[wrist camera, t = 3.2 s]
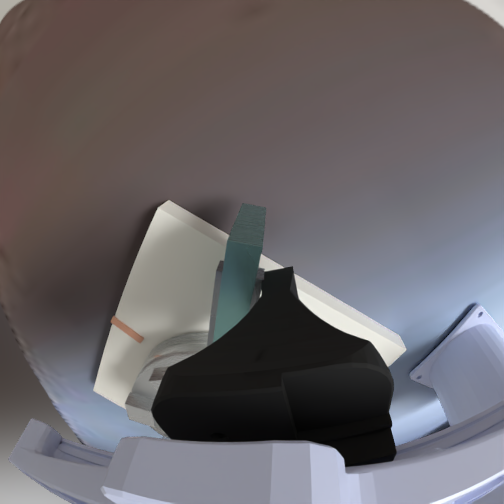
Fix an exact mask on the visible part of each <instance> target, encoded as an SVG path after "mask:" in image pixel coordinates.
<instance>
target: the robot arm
mask: <svg viewBox="0 0 504 504" xmlns="http://www.w3.org/2000/svg"><path fill="white" fill-rule="evenodd" d="M261 290H262V295H261V297H260V298H259V299H258V301H257V302H256V303H255V305H254V306H253V307H252V309H251V310H250V311H249V312H248V313H247V314H246V315H245V316H244V317H243V318H242V319H241V320H240V321H239V322H238V323H237V324H236V325H235V326H234V327H233V328H232V329H230V330H229V331H228V332H227V333H225V334H224V335H223V336H222V337H221V338H219V339H218V340H216V341H215V342H213V343H212V344H211V345H209V346H207V347H206V348H204V349H203V350H201V351H199V352H198V353H196V354H194V355H192V356H190V357H188V358H186V359H184V360H182V361H180V362H178V363H176V364H174V365H172V366H169V367H168V368H167V370H166V372H165V374H164V376H163V378H162V381H161V383H160V386H159V388H158V391H157V394H156V396H155V399H154V402H153V404H152V407H151V412H152V416H153V418H154V419H155V421H156V422H157V424H158V425H159V427H160V428H161V429H162V430H163V431H164V432H165V433H166V434H167V436H168V437H169V438H170V439H171V440H170V439H160V438H152V437H125V438H122V439H121V440H120V442H119V443H118V445H117V447H116V450H115V452H114V453H111V452H107V451H103V450H100V449H96V448H93V447H89V446H86V445H83V444H80V443H76V442H73V441H70V440H68V439H65V438H62V436H61V435H60V434H59V433H58V432H57V431H56V430H55V429H54V428H52V427H51V426H50V425H48V424H46V423H44V422H41V421H38V420H36V419H31V420H30V422H29V423H28V425H27V427H26V429H25V430H24V432H23V433H22V435H21V437H20V439H19V440H18V442H17V444H16V446H15V447H14V449H13V451H12V453H11V455H10V457H9V459H8V460H9V462H11V463H12V464H13V465H14V466H15V467H17V468H18V469H19V470H21V471H22V472H23V473H25V474H26V475H27V476H29V477H30V478H31V479H33V480H34V481H35V482H37V483H38V484H40V485H41V486H43V487H44V488H46V489H47V490H49V491H50V492H52V493H54V494H55V495H57V496H59V497H61V498H63V499H64V500H66V501H68V502H70V503H72V504H504V331H503V330H502V329H501V328H500V327H499V325H498V324H497V323H496V322H495V321H494V320H493V318H492V317H491V316H490V315H489V314H488V313H487V311H486V310H485V309H484V308H483V307H482V306H481V305H480V304H476V305H475V306H474V307H473V308H472V309H471V310H470V312H469V313H468V314H467V315H466V316H465V317H464V319H463V320H462V321H461V322H460V323H459V324H458V325H457V327H456V328H455V329H454V330H453V331H452V332H451V333H450V334H449V335H448V336H447V337H446V338H445V339H444V341H443V342H442V343H441V344H440V345H439V346H438V347H437V348H436V349H435V350H434V351H433V352H432V353H431V354H430V355H429V356H428V357H427V358H425V359H424V360H423V361H422V362H421V363H420V364H419V365H418V366H417V367H416V368H415V369H414V370H412V371H411V373H410V374H409V376H410V379H411V380H414V381H416V382H418V383H421V384H423V385H425V386H428V387H430V388H432V389H434V390H435V392H436V394H437V396H438V399H439V401H440V403H441V405H442V408H443V410H444V412H445V415H446V417H447V420H448V422H449V425H450V427H449V428H446V429H444V430H441V431H439V432H436V433H434V434H431V435H429V436H426V437H423V438H420V439H417V440H414V441H411V442H408V443H405V444H402V445H399V446H396V447H395V443H394V439H393V435H392V431H391V427H392V421H391V417H390V414H389V409H390V405H391V400H392V395H393V390H394V382H393V378H392V375H391V373H390V371H389V368H388V367H387V365H386V363H385V361H384V360H383V358H382V357H381V355H380V353H379V352H378V351H377V349H376V348H375V346H374V345H373V344H372V343H371V342H370V341H368V340H365V339H362V338H359V337H357V336H354V335H351V334H348V333H346V332H343V331H341V330H339V329H337V328H335V327H333V326H332V325H330V324H328V323H327V322H325V321H324V320H322V319H321V318H319V317H318V316H317V315H315V314H314V313H313V312H312V311H311V310H310V309H308V308H307V307H306V306H305V305H304V304H303V303H302V302H301V301H300V299H299V297H298V292H297V286H296V281H295V276H294V271H293V266H292V267H286V268H281V269H276V270H270V271H265V272H264V281H263V282H261Z"/></svg>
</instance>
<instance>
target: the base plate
mask: <svg viewBox="0 0 504 504" xmlns="http://www.w3.org/2000/svg"><path fill="white" fill-rule="evenodd" d="M228 237H229V235H228V234H226V233H224V232H223V231H221V230H219V229H218V228H216V227H214V226H212V225H211V224H209V223H207V222H206V221H204V220H202V219H200V218H199V217H197V216H195V215H194V214H192V213H190V212H188V211H187V210H185V209H183V208H181V207H180V206H178V205H176V204H175V203H173V202H171V201H169V200H168V201H167V202H165V203H164V204H162V205H161V206H160V207H158V209H157V211H156V213H155V215H154V218H153V220H152V222H151V224H150V227H149V229H148V231H147V234H146V236H145V238H144V241H143V243H142V245H141V248H140V250H139V253H138V255H137V257H136V260H135V262H134V265H133V268H132V270H131V273H130V275H129V278H128V281H127V283H126V286H125V289H124V291H123V294H122V297H121V300H120V303H119V305H118V308H117V311H116V314H115V316H113V318H112V319H111V321H110V322H111V323H112V326H111V330H110V333H109V336H108V339H107V343H106V346H105V349H104V353H103V356H102V360H101V363H100V367H99V371H98V375H97V378H96V382H95V386H94V391H95V392H96V393H98V394H100V395H101V396H103V397H105V398H107V399H108V400H110V401H112V402H114V403H115V404H117V405H119V406H121V407H123V408H124V409H126V407H125V402H126V399H127V397H128V395H129V393H130V392H132V387H133V385H134V383H135V380H136V378H137V376H138V374H139V372H140V370H141V368H142V366H143V364H144V362H145V360H146V358H147V356H148V354H149V353H150V352H151V350H152V349H153V348H154V347H155V346H157V345H158V344H159V343H161V342H163V341H164V340H167V339H169V338H172V337H175V336H179V335H182V334H189V333H208V332H209V323H210V315H211V307H212V298H213V290H214V283H215V275H216V269H217V267H218V264H219V262H220V260H222V261H224V258H225V252H226V245H227V240H228ZM259 268H264V269H265V270H264V272H265V271H270V270H276V269H281V268H284V267H282V266H281V265H279V264H277V263H276V262H274V261H272V260H271V259H269V258H267V257H265V256H264V255H262V254H261V257H260V262H259ZM294 276H295V281H296V286H297V292H298V297H299V299H300V301H301V302H302V303H303V304H304V305H305V306H306V307H307V308H308V309H310V310H311V311H312V312H313V313H314V314H315V315H317V316H318V317H319V318H321V319H322V320H324V321H325V322H327V323H328V324H330V325H332V326H333V327H335V328H337V329H339V330H341V331H343V332H346V333H348V334H351V335H354V336H357V337H359V338H362V339H365V340H368V341H370V342H371V343H372V344H373V345H374V346H375V348H376V349H377V351H378V352H379V353H380V355H381V357H382V358H383V360H384V361H385V363H386V365H387V367H389V366H390V365H391V364H392V363H393V362H394V361H395V360H397V359H398V358H399V357H400V356H401V355H402V354H403V353H404V352H405V351H406V350H407V349H406V347H405V345H404V343H403V341H402V339H401V337H400V335H398V334H396V333H395V332H393V331H391V330H389V329H388V328H386V327H384V326H383V325H381V324H379V323H378V322H376V321H374V320H373V319H371V318H369V317H367V316H366V315H364V314H362V313H361V312H359V311H357V310H356V309H354V308H352V307H350V306H349V305H347V304H345V303H344V302H342V301H340V300H339V299H337V298H335V297H333V296H332V295H330V294H328V293H327V292H325V291H323V290H322V289H320V288H318V287H317V286H315V285H313V284H311V283H310V282H308V281H306V280H305V279H303V278H301V277H299V276H298V275H296V274H294ZM261 295H262V290H261V294H260V297H261Z"/></svg>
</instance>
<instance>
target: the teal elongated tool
mask: <svg viewBox="0 0 504 504" xmlns="http://www.w3.org/2000/svg"><path fill="white" fill-rule="evenodd" d="M265 215H266V208H265V207H260V206H255V205H250V204H244V203H243V204H242V206H241V208H240V211H239V213H238V216H237V218H236V220H235V223H234V225H233V228H232V230H231V232H230V235H229V237H228V240H227V245H226V252H225V258H224V261H222V260H220V262H219V264H218V267H217V269H216V275H215V283H214V290H213V298H212V307H211V315H210V323H209V332H208V333H189V334H182V335H179V336H175V337H172V338H169V339H167V340H164V341H163V342H161V343H159V344H158V345H157V346H155V347H154V348H153V349H152V350H151V352H150V353H149V354H148V356H147V358H146V360H145V362H144V364H143V366H142V368H141V370H140V372H139V374H138V376H137V378H136V380H135V383H134V385H133V387H132V392H130V393H129V395H128V397H127V399H126V402H125V407H126V410H127V414H128V417H129V419H130V420H133V421H136V422H139V423H142V424H145V425H148V426H150V427H151V428H153V429H154V430H155V431H157V432H158V433H159V434H161V435H163V439H170V438H169V437H168V436H167V434H166V433H165V432H164V431H163V430H162V429H161V428H160V427H159V425H158V424H157V422H156V421H155V419H154V418H153V416H152V412H151V407H152V404H153V402H154V399H155V396H156V394H157V391H158V388H159V386H160V383H161V381H162V378H163V376H164V374H165V372H166V370H167V368H168V367H169V366H172V365H174V364H176V363H178V362H180V361H182V360H184V359H186V358H188V357H190V356H192V355H194V354H196V353H198V352H199V351H201V350H203V349H204V348H206V347H207V346H209V345H211V344H212V343H213V342H215V341H216V340H218V339H219V338H221V337H222V336H223V335H224V334H225V333H227V332H228V331H229V330H230V329H232V328H233V327H234V326H235V325H236V324H237V323H238V322H239V321H240V320H241V319H242V318H243V317H244V316H245V315H246V314H247V313H248V312H249V311H250V310H251V309H252V307H253V306H254V305H255V303H256V302H257V301H258V299H259V298H260V294H261V282H263V281H264V270H265V269H264V268H259V262H260V257H261V252H262V248H263V237H264V226H265ZM170 440H171V439H170Z"/></svg>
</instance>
